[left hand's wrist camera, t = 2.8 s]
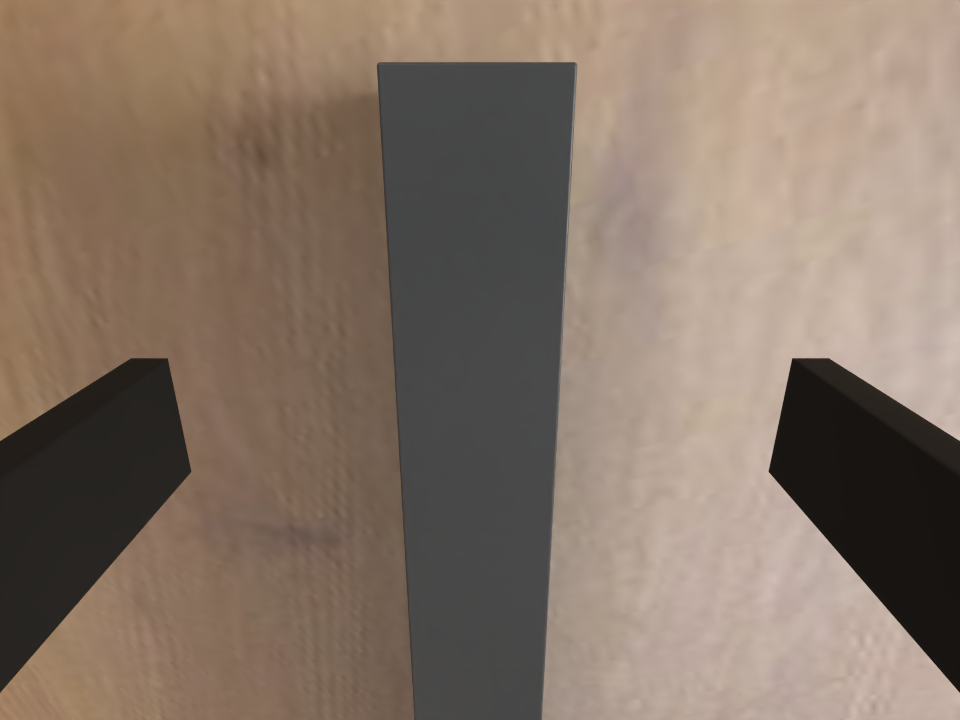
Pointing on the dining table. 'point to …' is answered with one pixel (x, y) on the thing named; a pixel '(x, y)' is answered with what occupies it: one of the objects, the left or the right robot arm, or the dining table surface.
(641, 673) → the dining table surface
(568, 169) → the post
